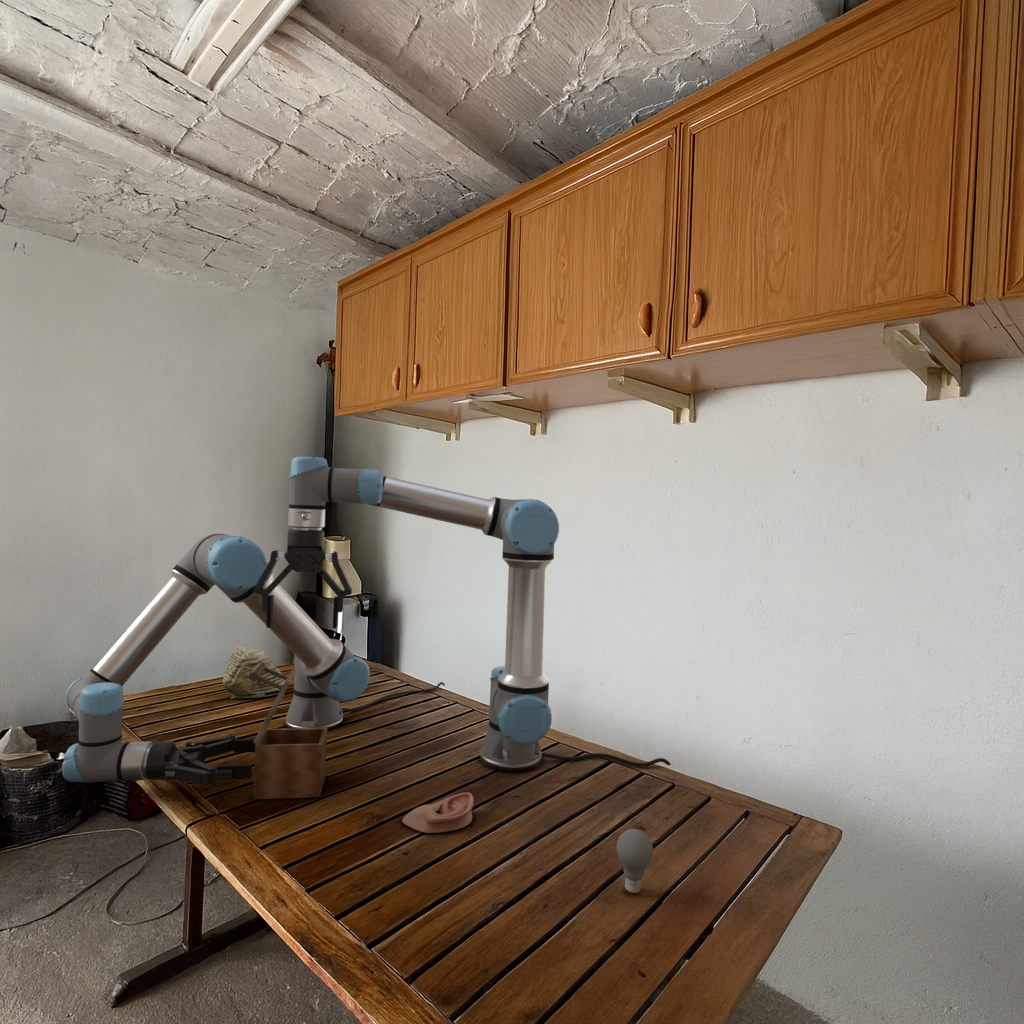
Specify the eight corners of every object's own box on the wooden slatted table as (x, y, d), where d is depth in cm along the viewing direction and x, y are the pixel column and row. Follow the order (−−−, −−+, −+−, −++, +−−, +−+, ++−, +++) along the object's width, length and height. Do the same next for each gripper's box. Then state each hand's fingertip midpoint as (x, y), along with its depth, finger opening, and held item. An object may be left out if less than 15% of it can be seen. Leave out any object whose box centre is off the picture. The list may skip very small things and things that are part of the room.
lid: (296, 670, 141) (263, 655, 140) (289, 682, 132) (252, 666, 131) (267, 727, 141) (232, 713, 139) (257, 744, 131) (220, 729, 130)
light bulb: (610, 879, 108) (613, 822, 108) (644, 879, 109) (647, 822, 109) (619, 902, 102) (622, 840, 102) (655, 901, 103) (658, 840, 103)
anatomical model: (396, 808, 122) (417, 782, 133) (395, 828, 122) (416, 801, 133) (463, 818, 119) (478, 791, 130) (462, 839, 119) (477, 810, 131)
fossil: (218, 695, 195) (220, 647, 195) (278, 685, 208) (279, 640, 207) (228, 703, 189) (230, 653, 188) (289, 692, 201) (290, 645, 201)
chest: (325, 777, 143) (327, 727, 143) (319, 797, 134) (321, 744, 133) (263, 778, 141) (265, 728, 141) (253, 799, 131) (255, 745, 131)
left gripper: (171, 754, 144) (269, 751, 148) (125, 807, 120) (244, 802, 123) (172, 721, 144) (270, 720, 148) (126, 768, 120) (245, 764, 123)
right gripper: (240, 527, 131) (237, 630, 131) (364, 531, 135) (360, 630, 135) (249, 525, 138) (245, 622, 138) (366, 529, 142) (362, 623, 143)
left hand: (258, 757), depth 136 cm, fingers open, 13 cm apart
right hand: (302, 627), depth 137 cm, fingers open, 13 cm apart
